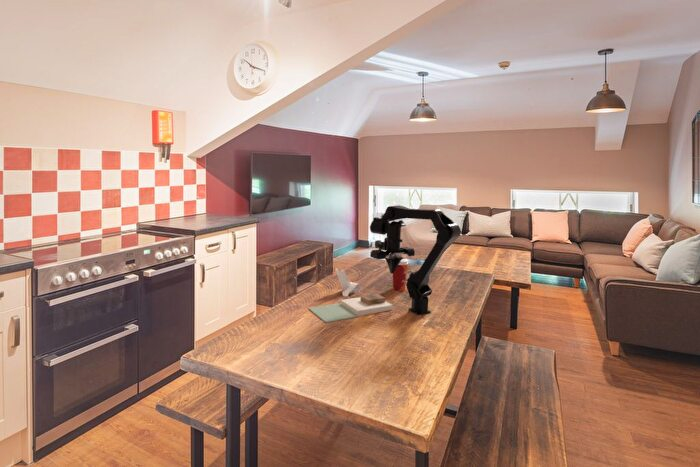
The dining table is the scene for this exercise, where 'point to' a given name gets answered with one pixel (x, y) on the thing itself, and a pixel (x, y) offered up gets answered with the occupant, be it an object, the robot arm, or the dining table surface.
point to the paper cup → (400, 276)
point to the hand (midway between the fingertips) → (391, 273)
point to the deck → (365, 306)
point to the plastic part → (347, 283)
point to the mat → (333, 312)
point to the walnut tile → (372, 299)
